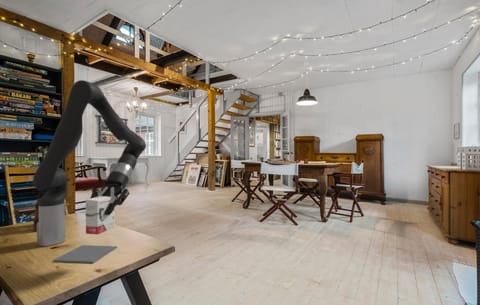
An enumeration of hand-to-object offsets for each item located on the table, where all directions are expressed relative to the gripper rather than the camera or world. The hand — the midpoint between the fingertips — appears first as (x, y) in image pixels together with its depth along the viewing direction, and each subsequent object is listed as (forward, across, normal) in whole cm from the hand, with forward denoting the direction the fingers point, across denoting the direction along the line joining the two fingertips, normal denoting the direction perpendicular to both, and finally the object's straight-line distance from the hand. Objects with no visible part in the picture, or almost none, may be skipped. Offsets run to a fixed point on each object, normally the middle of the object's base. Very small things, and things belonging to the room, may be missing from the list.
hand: (99, 213), depth 84 cm
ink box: (+4, 0, +5) cm, 6 cm away
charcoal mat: (+7, -12, +19) cm, 24 cm away
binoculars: (-13, -62, +42) cm, 75 cm away
